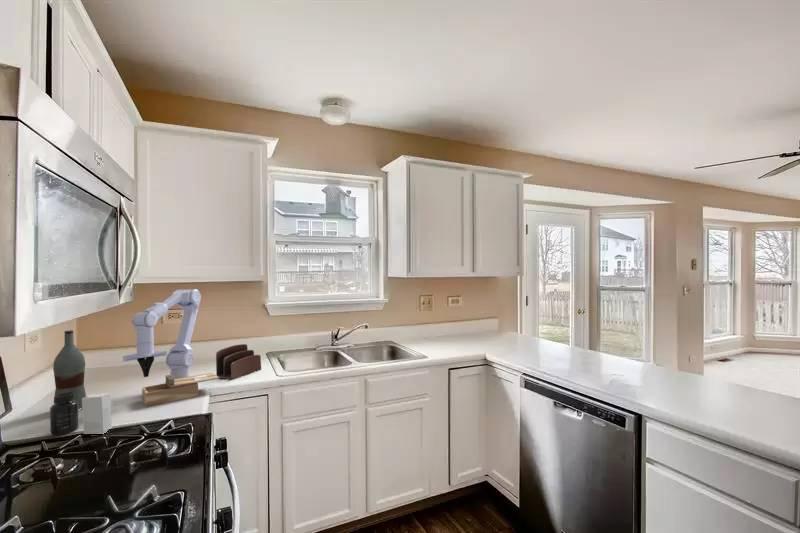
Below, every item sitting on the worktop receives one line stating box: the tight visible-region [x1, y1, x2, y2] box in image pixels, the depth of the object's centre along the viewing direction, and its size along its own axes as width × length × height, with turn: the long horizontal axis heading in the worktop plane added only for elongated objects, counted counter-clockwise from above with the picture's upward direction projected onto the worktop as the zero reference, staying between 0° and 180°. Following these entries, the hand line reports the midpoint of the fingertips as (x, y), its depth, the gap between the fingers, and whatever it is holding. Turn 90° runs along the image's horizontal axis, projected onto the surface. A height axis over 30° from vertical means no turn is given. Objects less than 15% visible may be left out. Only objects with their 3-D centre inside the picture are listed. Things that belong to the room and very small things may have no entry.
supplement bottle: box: [49, 392, 79, 436], centre depth 122 cm, size 7×7×12 cm
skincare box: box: [81, 392, 113, 435], centre depth 119 cm, size 6×4×12 cm
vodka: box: [52, 329, 87, 410], centre depth 143 cm, size 9×9×30 cm
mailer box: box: [141, 383, 199, 407], centre depth 153 cm, size 11×18×5 cm, turn 131°
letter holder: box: [215, 343, 262, 381], centre depth 188 cm, size 10×20×14 cm, turn 158°
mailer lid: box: [164, 372, 220, 388], centre depth 159 cm, size 11×18×3 cm, turn 131°
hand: (146, 376), depth 150 cm, fingers closed
